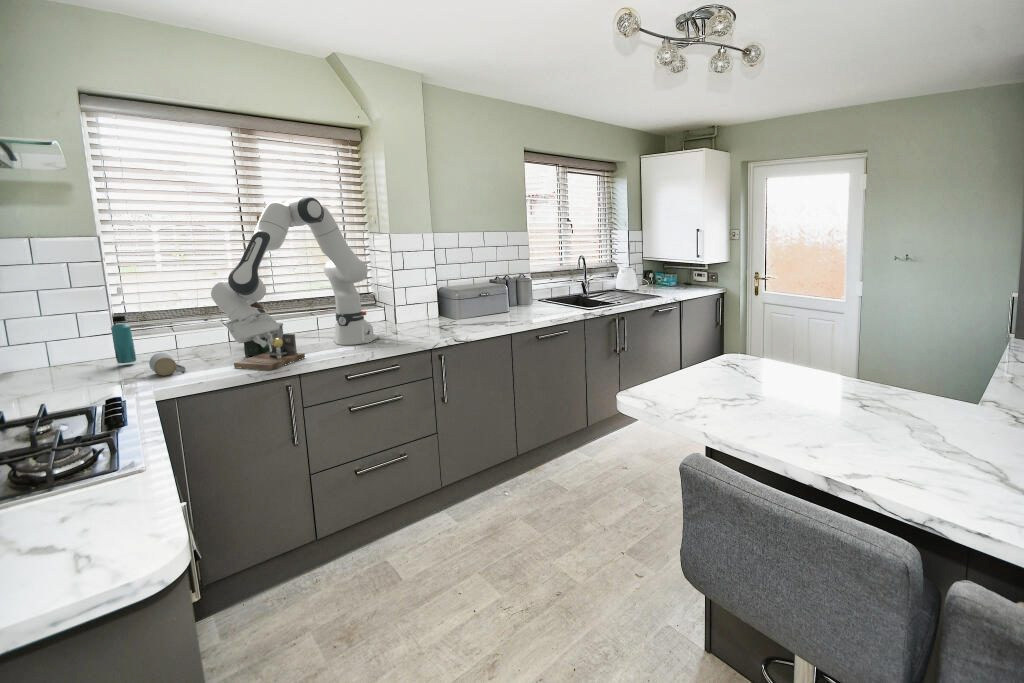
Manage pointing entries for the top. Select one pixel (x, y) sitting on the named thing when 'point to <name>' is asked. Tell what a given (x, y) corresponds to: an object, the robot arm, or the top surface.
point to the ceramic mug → (164, 364)
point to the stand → (272, 363)
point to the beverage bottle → (123, 341)
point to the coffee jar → (255, 348)
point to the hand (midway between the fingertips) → (269, 344)
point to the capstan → (278, 344)
